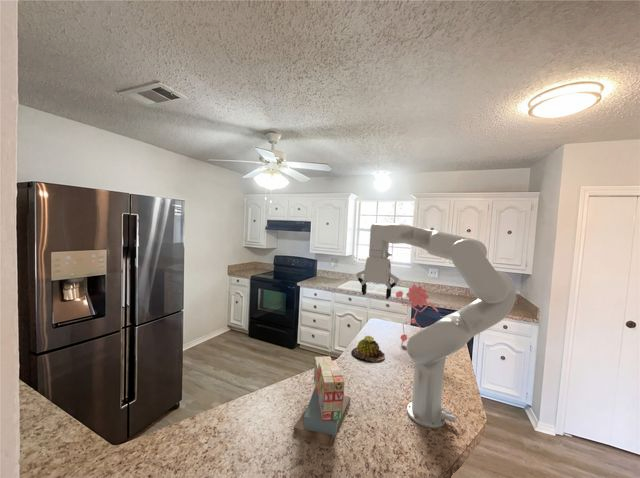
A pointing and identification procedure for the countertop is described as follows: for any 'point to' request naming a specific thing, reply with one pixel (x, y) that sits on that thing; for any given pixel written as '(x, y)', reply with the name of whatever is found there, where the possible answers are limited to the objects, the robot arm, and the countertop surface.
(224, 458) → the countertop surface
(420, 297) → the pink flower arrangement
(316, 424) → the tower top slab
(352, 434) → the countertop surface
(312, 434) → the tower base slab
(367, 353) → the cactus
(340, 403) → the stack of blocks
